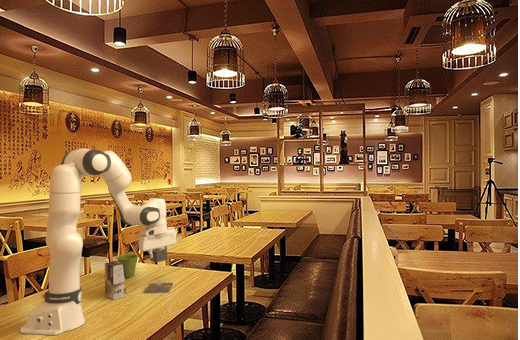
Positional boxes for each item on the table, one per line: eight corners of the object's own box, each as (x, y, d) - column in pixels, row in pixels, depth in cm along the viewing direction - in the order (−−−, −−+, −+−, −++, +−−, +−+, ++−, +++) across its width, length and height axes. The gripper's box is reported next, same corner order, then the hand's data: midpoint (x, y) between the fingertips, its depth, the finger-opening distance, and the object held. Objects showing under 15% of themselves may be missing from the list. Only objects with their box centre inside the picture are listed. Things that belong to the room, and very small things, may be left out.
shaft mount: (144, 293, 186) (144, 285, 185) (149, 285, 198) (149, 277, 197) (169, 292, 186) (168, 284, 186) (173, 284, 198) (172, 276, 198)
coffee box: (126, 296, 181) (125, 263, 181) (113, 300, 176) (112, 266, 176) (117, 292, 187) (117, 260, 187) (104, 295, 182) (104, 262, 182)
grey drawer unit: (157, 262, 186) (156, 251, 185) (150, 260, 190) (150, 249, 189) (167, 259, 190) (167, 248, 190) (160, 257, 194) (160, 246, 194)
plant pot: (134, 279, 207) (134, 259, 207) (113, 279, 208) (112, 259, 207) (141, 273, 219) (141, 253, 219) (121, 273, 219) (121, 254, 219)
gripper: (171, 225, 199) (172, 251, 200) (136, 231, 184) (137, 259, 184) (178, 226, 195) (179, 253, 195) (143, 233, 180) (144, 261, 180)
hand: (158, 256), depth 190 cm, fingers closed on grey drawer unit, 6 cm apart
